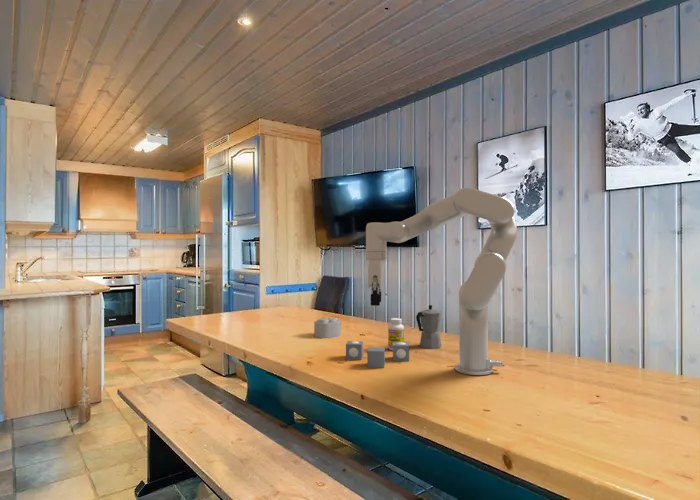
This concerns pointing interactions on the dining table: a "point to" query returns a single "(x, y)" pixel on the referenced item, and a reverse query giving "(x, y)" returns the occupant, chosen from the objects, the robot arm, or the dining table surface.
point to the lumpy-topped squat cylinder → (327, 328)
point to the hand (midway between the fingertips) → (376, 303)
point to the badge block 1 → (354, 350)
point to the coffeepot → (429, 328)
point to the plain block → (375, 357)
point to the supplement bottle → (395, 332)
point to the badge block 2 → (400, 351)
